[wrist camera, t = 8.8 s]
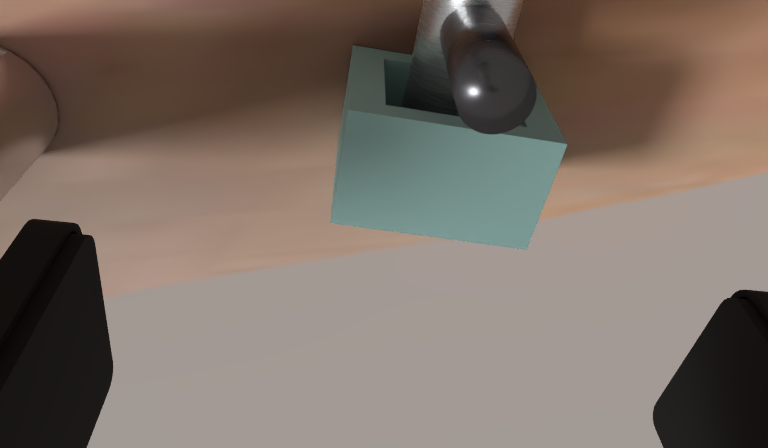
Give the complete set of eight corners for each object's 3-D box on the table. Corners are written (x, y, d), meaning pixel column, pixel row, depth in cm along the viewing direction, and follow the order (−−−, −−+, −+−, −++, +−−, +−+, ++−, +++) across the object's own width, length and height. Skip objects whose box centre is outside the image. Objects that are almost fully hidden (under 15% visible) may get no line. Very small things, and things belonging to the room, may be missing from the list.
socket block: (352, 44, 31) (348, 109, 25) (531, 75, 32) (567, 144, 26) (337, 144, 34) (330, 223, 28) (500, 169, 35) (526, 249, 29)
